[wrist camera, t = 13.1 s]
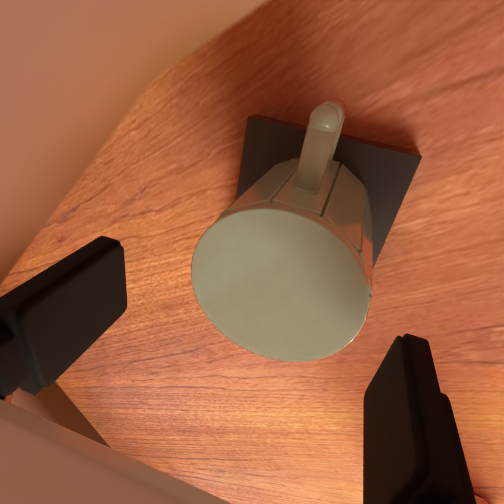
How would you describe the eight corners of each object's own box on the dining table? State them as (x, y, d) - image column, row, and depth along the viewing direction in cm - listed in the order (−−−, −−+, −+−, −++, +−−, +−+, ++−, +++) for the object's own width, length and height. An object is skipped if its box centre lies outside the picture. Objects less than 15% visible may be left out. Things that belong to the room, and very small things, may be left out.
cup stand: (234, 248, 23) (173, 323, 16) (254, 114, 18) (180, 138, 11) (360, 288, 21) (354, 392, 14) (419, 151, 16) (453, 207, 9)
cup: (245, 248, 21) (186, 328, 14) (274, 82, 16) (202, 86, 9) (348, 280, 20) (335, 384, 13) (415, 110, 14) (451, 139, 8)
